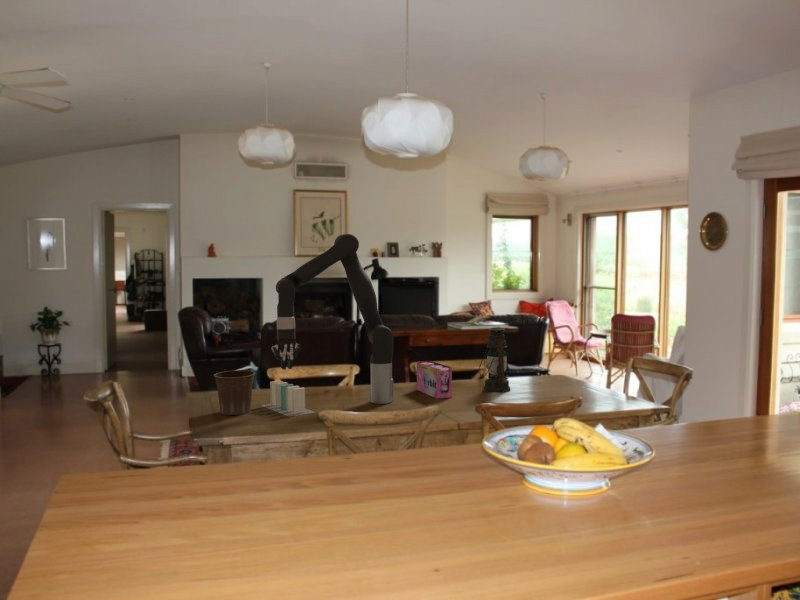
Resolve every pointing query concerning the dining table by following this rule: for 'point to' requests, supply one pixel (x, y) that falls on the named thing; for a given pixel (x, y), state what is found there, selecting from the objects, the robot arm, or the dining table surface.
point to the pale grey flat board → (285, 410)
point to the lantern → (496, 362)
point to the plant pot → (235, 391)
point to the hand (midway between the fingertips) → (286, 368)
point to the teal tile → (284, 396)
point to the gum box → (434, 379)
